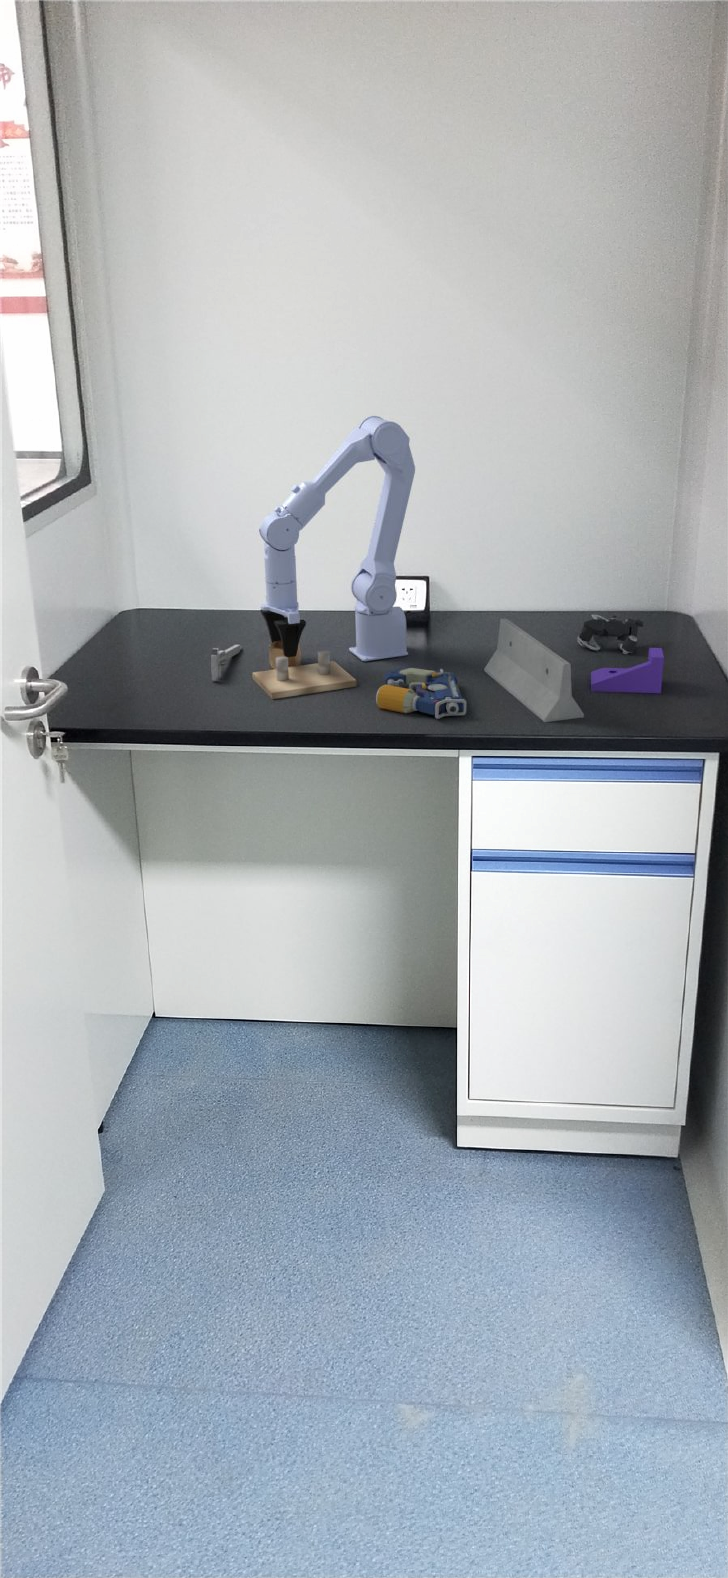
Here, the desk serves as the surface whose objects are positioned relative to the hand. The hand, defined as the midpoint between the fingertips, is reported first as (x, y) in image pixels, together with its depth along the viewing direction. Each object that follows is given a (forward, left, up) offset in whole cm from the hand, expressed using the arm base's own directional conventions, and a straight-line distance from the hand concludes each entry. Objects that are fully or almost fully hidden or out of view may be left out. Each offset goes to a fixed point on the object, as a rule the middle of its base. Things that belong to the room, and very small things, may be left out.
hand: (284, 650), depth 224 cm
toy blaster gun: (-15, +28, -4) cm, 32 cm away
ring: (0, 0, -3) cm, 3 cm away
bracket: (-52, +37, -3) cm, 64 cm away
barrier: (-35, +33, -3) cm, 48 cm away
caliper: (+10, -5, -3) cm, 12 cm away
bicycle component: (-63, +15, -3) cm, 65 cm away
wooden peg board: (0, +11, -3) cm, 11 cm away
